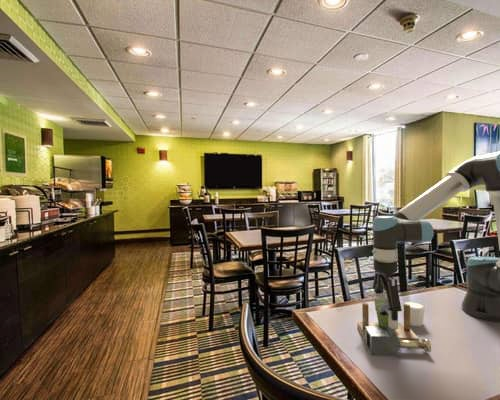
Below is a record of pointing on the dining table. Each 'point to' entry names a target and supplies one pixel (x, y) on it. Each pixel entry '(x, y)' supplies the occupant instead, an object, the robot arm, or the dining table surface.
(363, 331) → the peg stand
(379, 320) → the beverage can
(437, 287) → the dining table surface
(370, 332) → the slot block
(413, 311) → the beige tapered cylinder
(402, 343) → the pin
